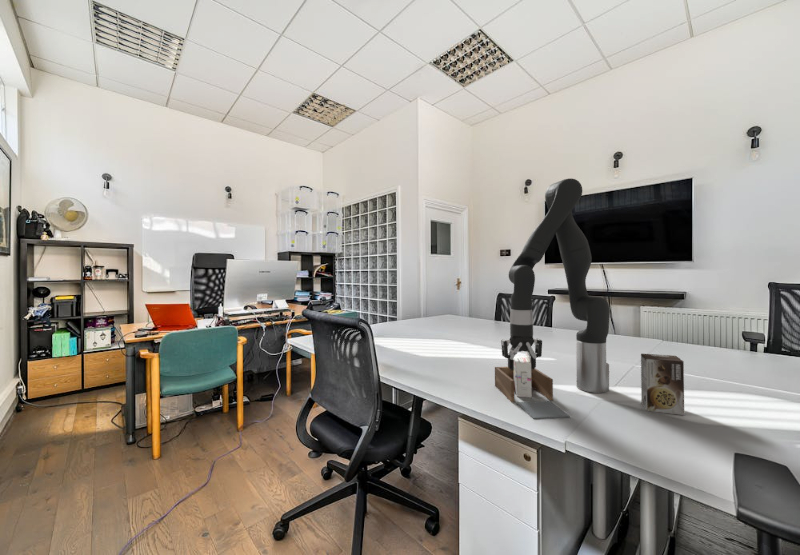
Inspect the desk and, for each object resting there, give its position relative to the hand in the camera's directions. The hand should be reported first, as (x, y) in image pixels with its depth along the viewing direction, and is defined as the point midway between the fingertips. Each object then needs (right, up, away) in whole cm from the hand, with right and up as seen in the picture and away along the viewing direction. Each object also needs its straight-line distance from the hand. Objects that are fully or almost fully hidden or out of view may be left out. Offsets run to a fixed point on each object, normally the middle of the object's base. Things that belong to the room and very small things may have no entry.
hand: (521, 369), depth 112 cm
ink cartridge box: (0, -9, 0) cm, 9 cm away
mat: (+1, -9, -14) cm, 16 cm away
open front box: (0, -8, 0) cm, 8 cm away
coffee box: (+37, -8, -15) cm, 41 cm away
